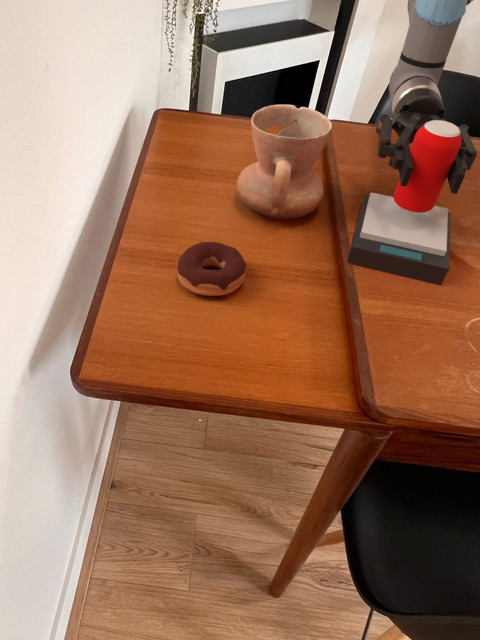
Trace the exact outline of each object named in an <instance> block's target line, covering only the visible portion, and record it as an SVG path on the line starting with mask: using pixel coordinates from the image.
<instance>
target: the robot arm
mask: <svg viewBox="0 0 480 640" xmlns="http://www.w3.org/2000/svg"><path fill="white" fill-rule="evenodd" d="M472 2H474V0H407V14H408V15H407V16H408V22H409V23H408V29H407V32H406V36H405V39H404V43H403V46H402V50H401V52H400V55H399V59H398V62H397V64H396V66H395V67H394V68H393V70H392V72H391V74H390V77H389V83H388V94H389V98H390V103H391V109H392V111H391V112H392V117H390V116H389V115H388V114H387V113H381V114H380V115H379V118H378V122H377V125H376V128H375V132H376V134H377V135H378V144H377V145H378V148H377V157H378V158H380V159H386V158H387V157H388V158H389V162H388V166H389V167H392V168H393V169H395V170H398V174H399V179H400V182H401V186H406V187H407V184H408V181H409V179H410V176H411V173H412V171H413V162H412V156H411V151H410V148H411V145H410V144H412V143H413V140H414V137H415V135H416V133H417V131H418V130H419V129H420V128H421V127H422V126H423V125H424V124H425V123H427V122H429V121H433V120H441V121H446V122H448V121H447V120H446V111H445V106H444V103H443V100H442V99H443V98H442V95H441V92H440V90H439V87H438V85H439V82H440V79H441V76H442V73H443V70H444V68H445V65H446V62H447V59H448V56H449V54H450V51H451V49H452V45H453V43H454V40H455V38H456V35H457V32H458V30H459V26H460V24H461V21H462V19H463V16H465V13H466V11H467V9H466V7H467V6H468V5H470V4H471V3H472ZM457 127H458V128H459V130H460V132H461V146H460V148H459V151H458V153H457V155H456V158H455V160H454V162H453V165H452V167H451V169H450V171H449V174H448V176H447V178H446V180H447V183H448V186H449V191H450V193H451V194H455V195H456V194H458V192H459V190H460V187H461V185H462V184H463V181H464V179H465V176H466V171H470V170H471V169H472V166H473V164H474V162H475V160H476V158H477V155H478V154H479V153H478V150H477V148H476V147H475V144H474V142H473V140H472V138H471V136H470V134H469V133H468V130H469V126H468V125H467V124H460V126H457ZM392 132H395V133H396V135H397V137H398V139H396V141H395V143H392V134H393V133H392Z"/></svg>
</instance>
